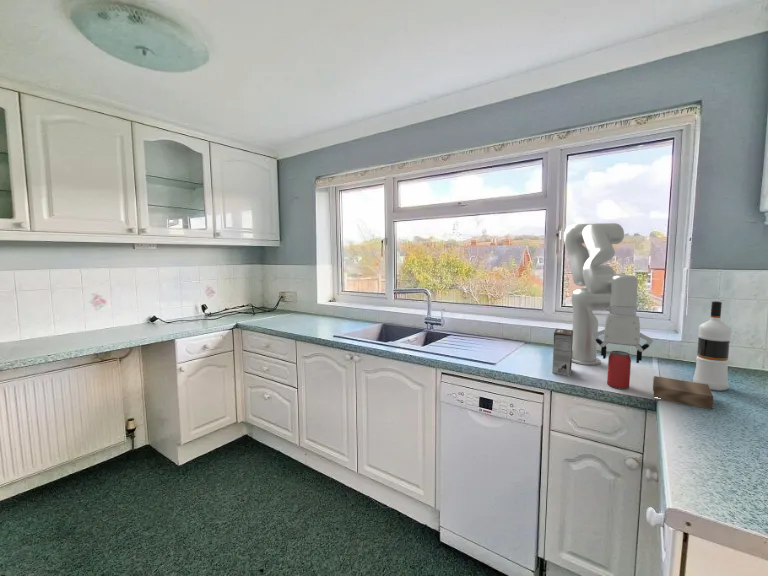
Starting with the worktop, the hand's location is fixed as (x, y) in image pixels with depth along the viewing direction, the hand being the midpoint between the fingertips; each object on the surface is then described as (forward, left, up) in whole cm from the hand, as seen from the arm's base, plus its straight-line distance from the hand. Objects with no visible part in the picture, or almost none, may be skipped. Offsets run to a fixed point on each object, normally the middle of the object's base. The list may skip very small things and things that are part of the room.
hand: (620, 360), depth 124 cm
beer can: (0, +1, -10) cm, 10 cm away
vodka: (+26, +19, -10) cm, 33 cm away
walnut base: (+17, +1, -10) cm, 19 cm away
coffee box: (-19, +7, -10) cm, 23 cm away
